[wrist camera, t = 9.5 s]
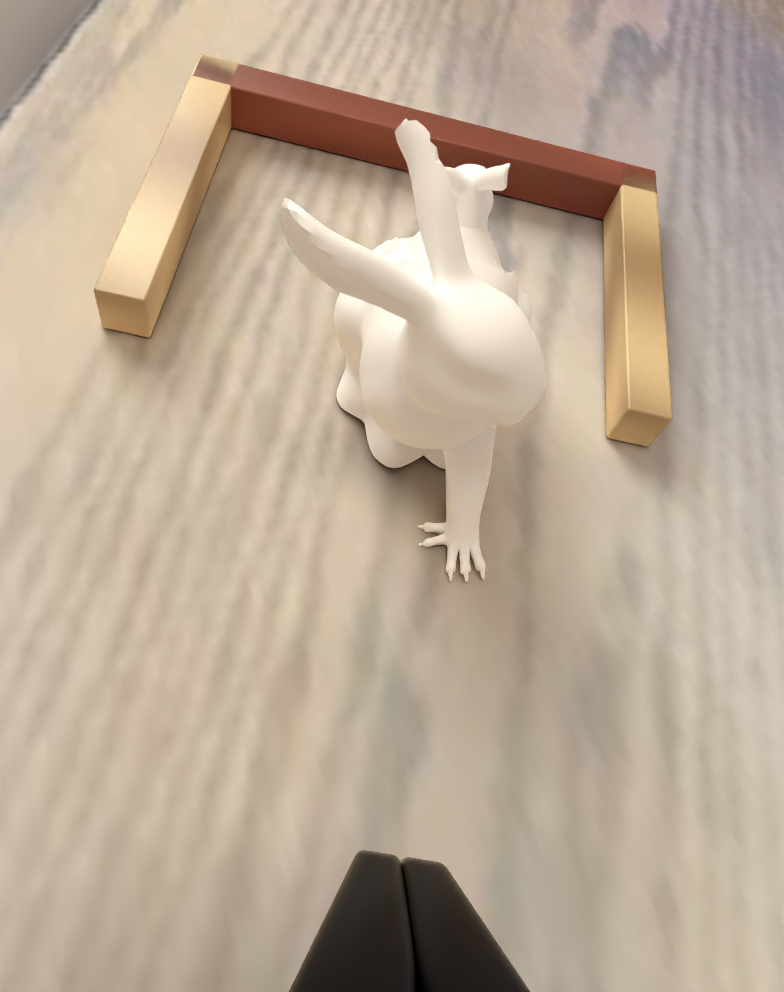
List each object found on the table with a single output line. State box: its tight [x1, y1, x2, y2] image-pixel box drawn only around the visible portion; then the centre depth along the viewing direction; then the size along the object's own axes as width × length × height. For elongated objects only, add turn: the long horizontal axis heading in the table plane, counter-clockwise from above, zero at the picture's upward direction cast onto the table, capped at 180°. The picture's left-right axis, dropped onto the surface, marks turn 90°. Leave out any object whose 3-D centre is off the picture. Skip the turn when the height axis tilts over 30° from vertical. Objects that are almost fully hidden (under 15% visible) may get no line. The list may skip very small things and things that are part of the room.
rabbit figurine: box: [280, 119, 547, 582], centre depth 21 cm, size 12×8×10 cm, turn 172°
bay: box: [94, 54, 672, 446], centre depth 28 cm, size 13×19×2 cm
